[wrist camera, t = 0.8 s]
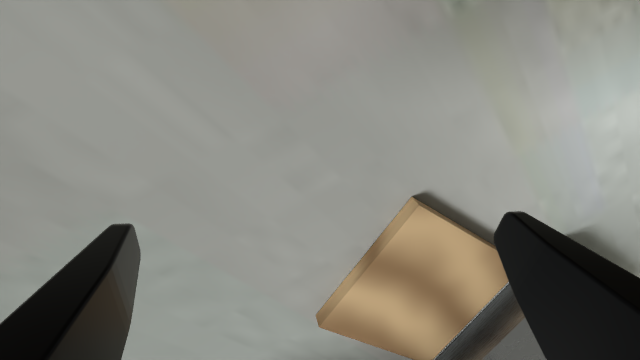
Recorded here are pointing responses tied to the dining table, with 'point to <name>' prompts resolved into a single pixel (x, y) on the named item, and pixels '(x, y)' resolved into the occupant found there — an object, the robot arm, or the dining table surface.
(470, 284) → the oak pad
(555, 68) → the dining table surface
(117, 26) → the dining table surface
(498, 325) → the rail
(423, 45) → the dining table surface
